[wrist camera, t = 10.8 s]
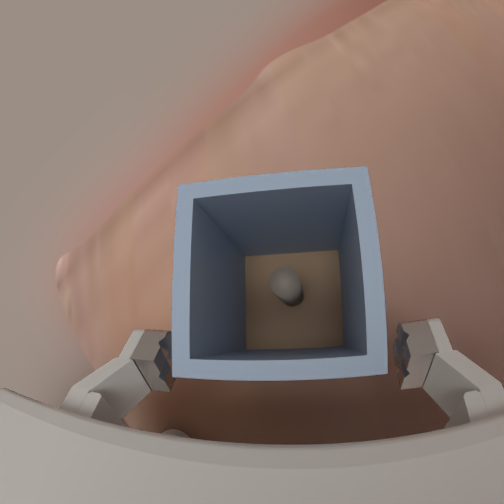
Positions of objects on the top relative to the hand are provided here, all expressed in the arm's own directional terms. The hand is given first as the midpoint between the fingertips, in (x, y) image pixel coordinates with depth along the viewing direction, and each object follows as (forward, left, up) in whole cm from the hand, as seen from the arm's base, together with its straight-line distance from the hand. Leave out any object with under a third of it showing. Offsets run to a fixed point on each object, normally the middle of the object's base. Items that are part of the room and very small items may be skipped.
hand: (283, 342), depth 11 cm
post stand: (-1, -2, -7) cm, 8 cm away
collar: (-1, -2, -6) cm, 6 cm away
